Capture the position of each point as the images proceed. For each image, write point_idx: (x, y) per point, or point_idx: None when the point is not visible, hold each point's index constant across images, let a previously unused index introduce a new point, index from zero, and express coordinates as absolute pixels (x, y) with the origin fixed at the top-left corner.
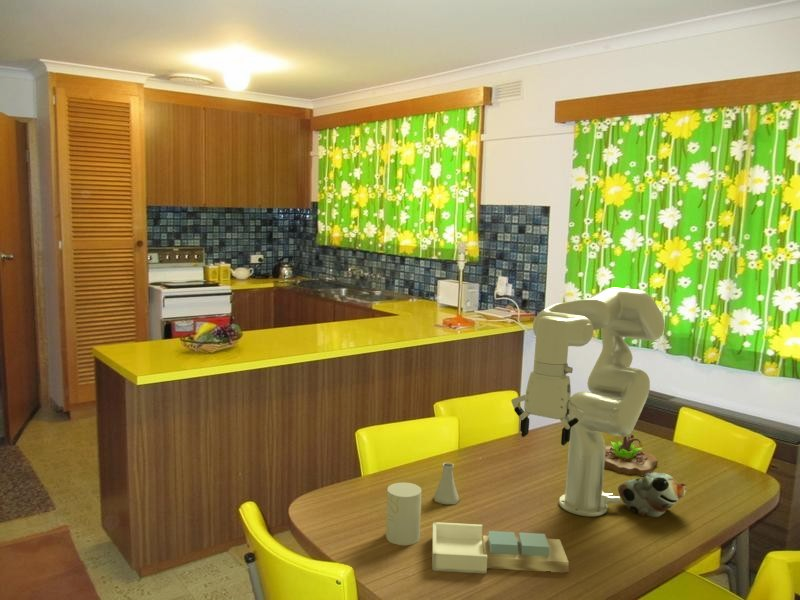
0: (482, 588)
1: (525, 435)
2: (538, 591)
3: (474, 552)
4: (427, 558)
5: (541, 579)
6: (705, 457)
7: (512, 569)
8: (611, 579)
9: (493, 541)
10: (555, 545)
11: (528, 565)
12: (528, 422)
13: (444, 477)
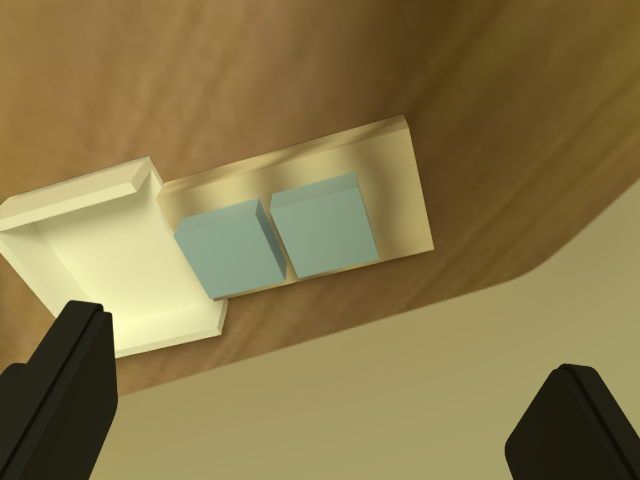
0: (239, 346)
1: (114, 385)
2: (358, 320)
3: (164, 243)
4: None
5: (360, 278)
6: None
7: None
8: (546, 219)
9: (212, 285)
10: (394, 173)
11: None
12: (39, 476)
13: None
